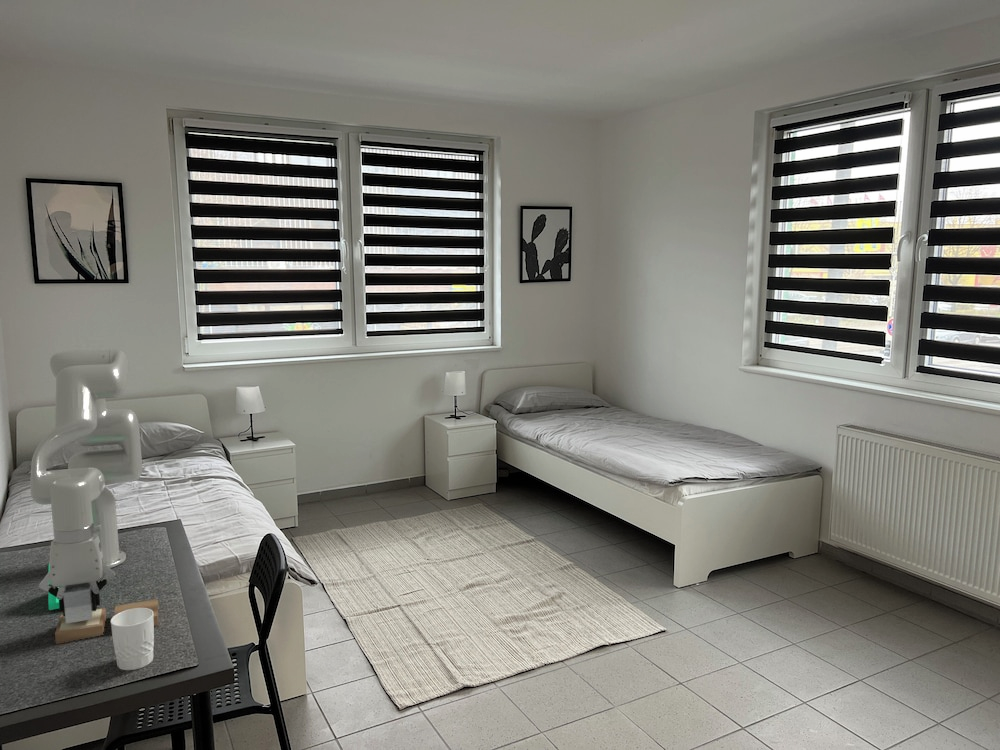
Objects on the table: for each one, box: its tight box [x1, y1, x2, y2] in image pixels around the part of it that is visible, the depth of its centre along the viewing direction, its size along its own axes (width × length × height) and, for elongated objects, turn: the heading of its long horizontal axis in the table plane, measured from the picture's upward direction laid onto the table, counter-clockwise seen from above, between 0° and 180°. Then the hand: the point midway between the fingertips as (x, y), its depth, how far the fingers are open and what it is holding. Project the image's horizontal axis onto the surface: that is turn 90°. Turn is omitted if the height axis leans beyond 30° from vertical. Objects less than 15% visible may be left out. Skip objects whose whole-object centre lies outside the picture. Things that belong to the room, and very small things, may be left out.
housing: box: [63, 583, 94, 623], centre depth 161 cm, size 7×5×7 cm
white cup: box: [110, 608, 155, 671], centre depth 149 cm, size 8×8×10 cm
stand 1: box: [54, 607, 107, 645], centre depth 162 cm, size 9×9×3 cm
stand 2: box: [113, 598, 160, 627], centre depth 167 cm, size 9×9×2 cm
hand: (80, 610), depth 162 cm, fingers closed on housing, 5 cm apart
